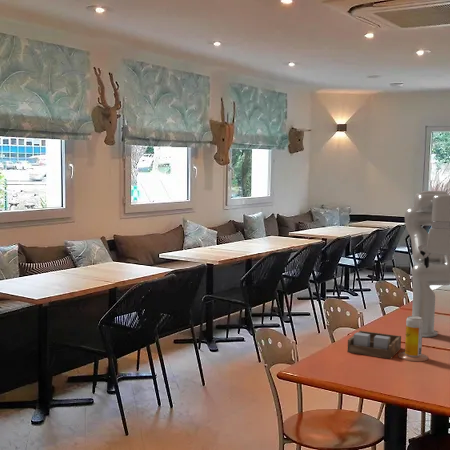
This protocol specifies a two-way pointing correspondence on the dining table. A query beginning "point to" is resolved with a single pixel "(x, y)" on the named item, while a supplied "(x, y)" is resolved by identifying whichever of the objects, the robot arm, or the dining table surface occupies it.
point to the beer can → (413, 336)
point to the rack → (392, 348)
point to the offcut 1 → (362, 339)
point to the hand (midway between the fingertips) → (439, 268)
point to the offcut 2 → (381, 342)
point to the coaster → (417, 359)
